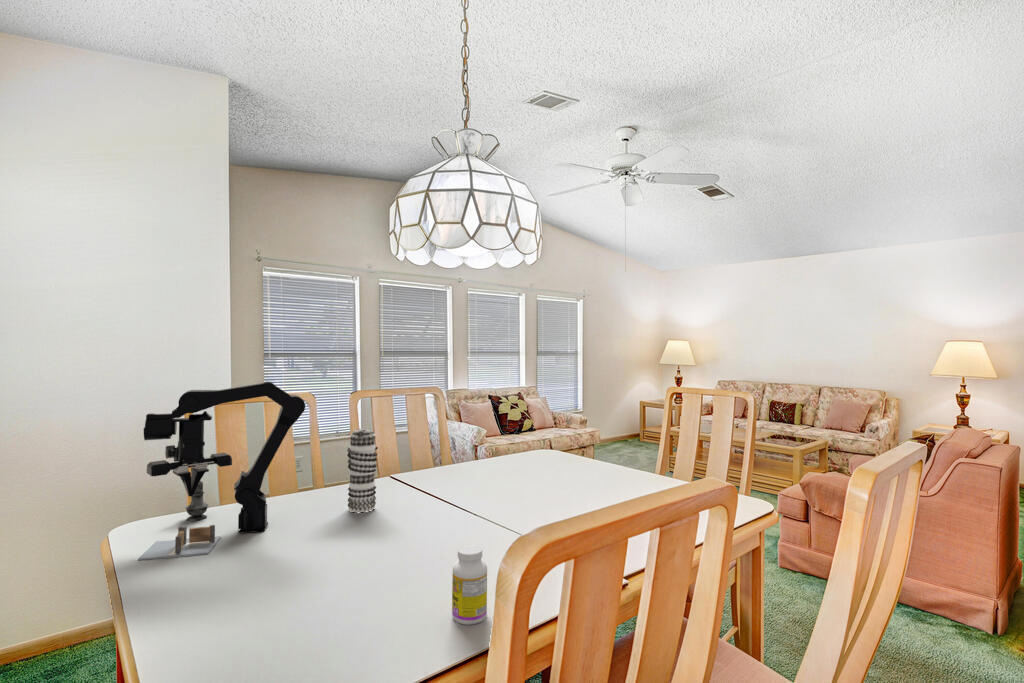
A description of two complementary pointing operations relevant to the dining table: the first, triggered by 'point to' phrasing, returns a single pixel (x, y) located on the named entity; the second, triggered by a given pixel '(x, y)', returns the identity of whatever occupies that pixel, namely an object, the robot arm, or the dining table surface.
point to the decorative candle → (362, 471)
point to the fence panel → (179, 542)
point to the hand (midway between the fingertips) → (190, 496)
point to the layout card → (168, 549)
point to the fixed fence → (199, 534)
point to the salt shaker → (197, 505)
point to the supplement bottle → (469, 586)
